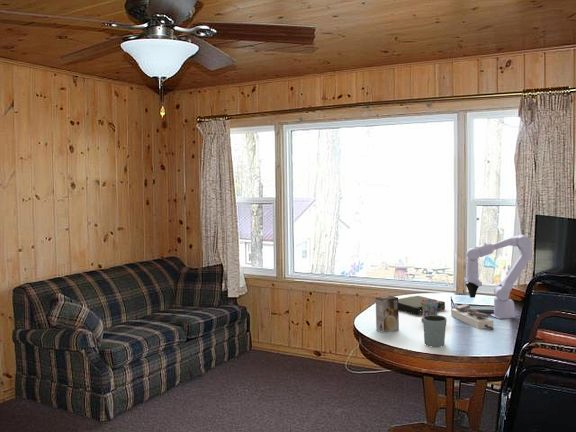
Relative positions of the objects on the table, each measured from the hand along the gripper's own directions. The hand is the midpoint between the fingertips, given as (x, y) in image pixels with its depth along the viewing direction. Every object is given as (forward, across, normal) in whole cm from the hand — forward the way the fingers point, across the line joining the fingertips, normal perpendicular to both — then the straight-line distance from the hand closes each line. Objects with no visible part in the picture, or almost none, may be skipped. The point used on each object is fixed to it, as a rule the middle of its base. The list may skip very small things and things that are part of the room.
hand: (472, 297), depth 297 cm
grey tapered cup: (+10, +38, -41) cm, 57 cm away
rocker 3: (+5, +17, -6) cm, 19 cm away
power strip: (+10, +12, -6) cm, 16 cm away
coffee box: (+10, +11, -52) cm, 54 cm away
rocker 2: (+5, +9, -6) cm, 12 cm away
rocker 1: (+5, +1, -6) cm, 8 cm away
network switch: (+11, -23, -20) cm, 32 cm away
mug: (+10, +2, -25) cm, 27 cm away
